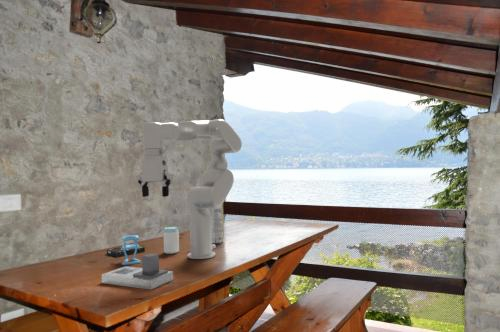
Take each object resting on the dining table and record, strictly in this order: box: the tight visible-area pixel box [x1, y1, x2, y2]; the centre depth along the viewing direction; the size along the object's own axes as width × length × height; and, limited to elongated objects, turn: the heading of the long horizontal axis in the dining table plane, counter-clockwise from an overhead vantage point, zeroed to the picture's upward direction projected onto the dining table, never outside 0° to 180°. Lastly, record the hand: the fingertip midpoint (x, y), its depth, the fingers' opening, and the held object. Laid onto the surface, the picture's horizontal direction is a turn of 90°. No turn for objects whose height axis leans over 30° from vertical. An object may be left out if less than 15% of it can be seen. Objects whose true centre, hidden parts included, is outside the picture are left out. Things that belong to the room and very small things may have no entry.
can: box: [162, 226, 180, 255], centre depth 184 cm, size 7×7×12 cm
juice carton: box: [208, 203, 225, 244], centre depth 207 cm, size 9×8×24 cm
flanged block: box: [133, 253, 169, 279], centre depth 135 cm, size 8×8×9 cm
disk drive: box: [106, 245, 146, 258], centre depth 186 cm, size 10×3×15 cm
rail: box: [101, 265, 174, 291], centre depth 138 cm, size 12×22×3 cm, turn 65°
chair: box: [121, 234, 142, 266], centre depth 167 cm, size 8×8×12 cm
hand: (155, 196), depth 154 cm, fingers open, 9 cm apart
